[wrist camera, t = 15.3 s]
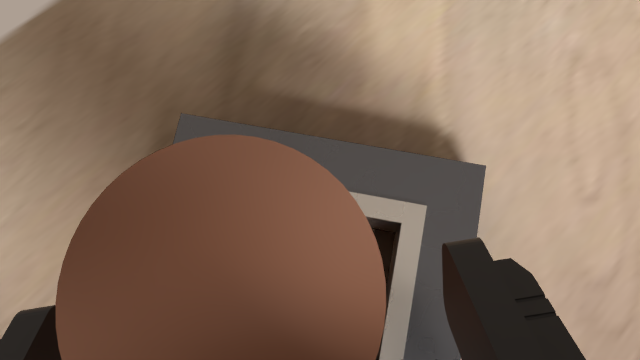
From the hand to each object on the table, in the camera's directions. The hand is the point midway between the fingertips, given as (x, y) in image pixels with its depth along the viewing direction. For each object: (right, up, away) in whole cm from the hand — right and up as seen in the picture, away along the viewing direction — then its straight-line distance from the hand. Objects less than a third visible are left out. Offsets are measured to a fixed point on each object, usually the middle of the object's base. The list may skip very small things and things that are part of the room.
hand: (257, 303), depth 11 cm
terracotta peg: (+1, -2, +10) cm, 10 cm away
